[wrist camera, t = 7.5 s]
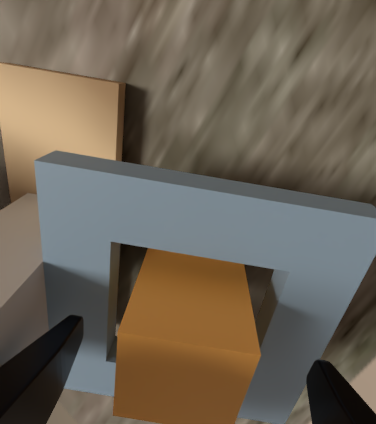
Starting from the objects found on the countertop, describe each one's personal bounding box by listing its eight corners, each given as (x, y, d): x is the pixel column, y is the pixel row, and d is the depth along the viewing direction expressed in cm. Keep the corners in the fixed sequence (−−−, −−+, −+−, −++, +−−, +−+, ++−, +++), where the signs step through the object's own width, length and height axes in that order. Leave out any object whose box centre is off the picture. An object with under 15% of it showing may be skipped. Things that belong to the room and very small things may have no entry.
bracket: (265, 336, 16) (309, 543, 9) (38, 298, 16) (-99, 475, 9) (329, 171, 12) (514, 315, 5) (20, 118, 12) (-275, 182, 5)
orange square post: (220, 271, 16) (230, 434, 9) (157, 261, 16) (113, 415, 9) (234, 214, 14) (260, 355, 7) (164, 202, 14) (117, 331, 7)
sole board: (113, 321, 18) (108, 334, 17) (35, 308, 18) (26, 320, 17) (125, 82, 12) (119, 83, 11) (8, 62, 12) (-8, 62, 11)
